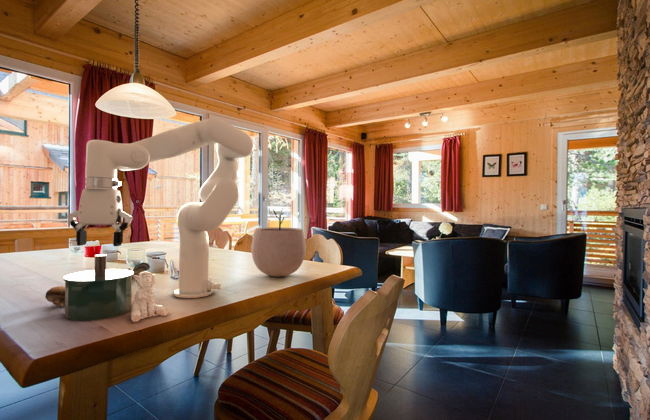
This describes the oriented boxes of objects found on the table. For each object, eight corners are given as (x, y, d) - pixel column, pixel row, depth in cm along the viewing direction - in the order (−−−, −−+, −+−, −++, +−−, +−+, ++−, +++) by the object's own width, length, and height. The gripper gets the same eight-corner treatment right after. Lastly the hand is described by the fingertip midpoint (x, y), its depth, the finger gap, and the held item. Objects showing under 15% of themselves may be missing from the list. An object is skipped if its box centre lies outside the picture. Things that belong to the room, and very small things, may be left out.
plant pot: (314, 273, 161) (315, 208, 161) (288, 283, 139) (289, 208, 139) (270, 268, 171) (271, 207, 171) (239, 277, 149) (240, 207, 149)
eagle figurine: (146, 278, 137) (154, 270, 146) (134, 264, 136) (144, 256, 145) (129, 288, 138) (139, 279, 146) (118, 274, 136) (128, 266, 145)
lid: (143, 273, 108) (144, 251, 108) (115, 285, 91) (115, 260, 91) (87, 272, 106) (87, 251, 106) (47, 284, 90) (48, 259, 90)
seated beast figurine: (132, 323, 90) (133, 276, 90) (119, 315, 95) (120, 272, 95) (168, 315, 97) (169, 272, 97) (155, 308, 103) (155, 268, 102)
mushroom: (56, 300, 98) (61, 279, 101) (34, 308, 99) (40, 288, 103) (82, 307, 104) (86, 287, 108) (61, 315, 106) (66, 295, 109)
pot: (144, 301, 110) (145, 269, 110) (108, 324, 89) (108, 284, 89) (92, 301, 109) (93, 269, 109) (43, 324, 88) (44, 284, 88)
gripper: (139, 186, 103) (137, 244, 103) (77, 184, 102) (76, 243, 102) (126, 185, 95) (124, 247, 95) (60, 182, 94) (58, 246, 94)
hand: (99, 245), depth 98 cm, fingers open, 9 cm apart
